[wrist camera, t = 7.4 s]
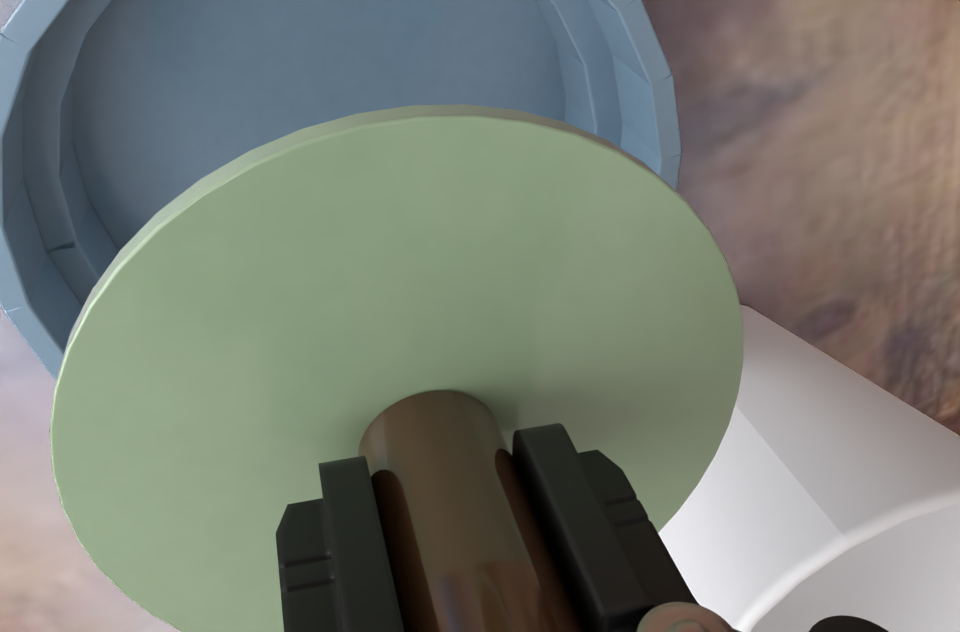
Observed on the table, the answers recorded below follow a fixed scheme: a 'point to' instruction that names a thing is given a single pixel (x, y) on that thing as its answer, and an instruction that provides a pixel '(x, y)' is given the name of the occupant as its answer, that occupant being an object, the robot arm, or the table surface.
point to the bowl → (268, 105)
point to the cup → (822, 501)
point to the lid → (391, 361)
